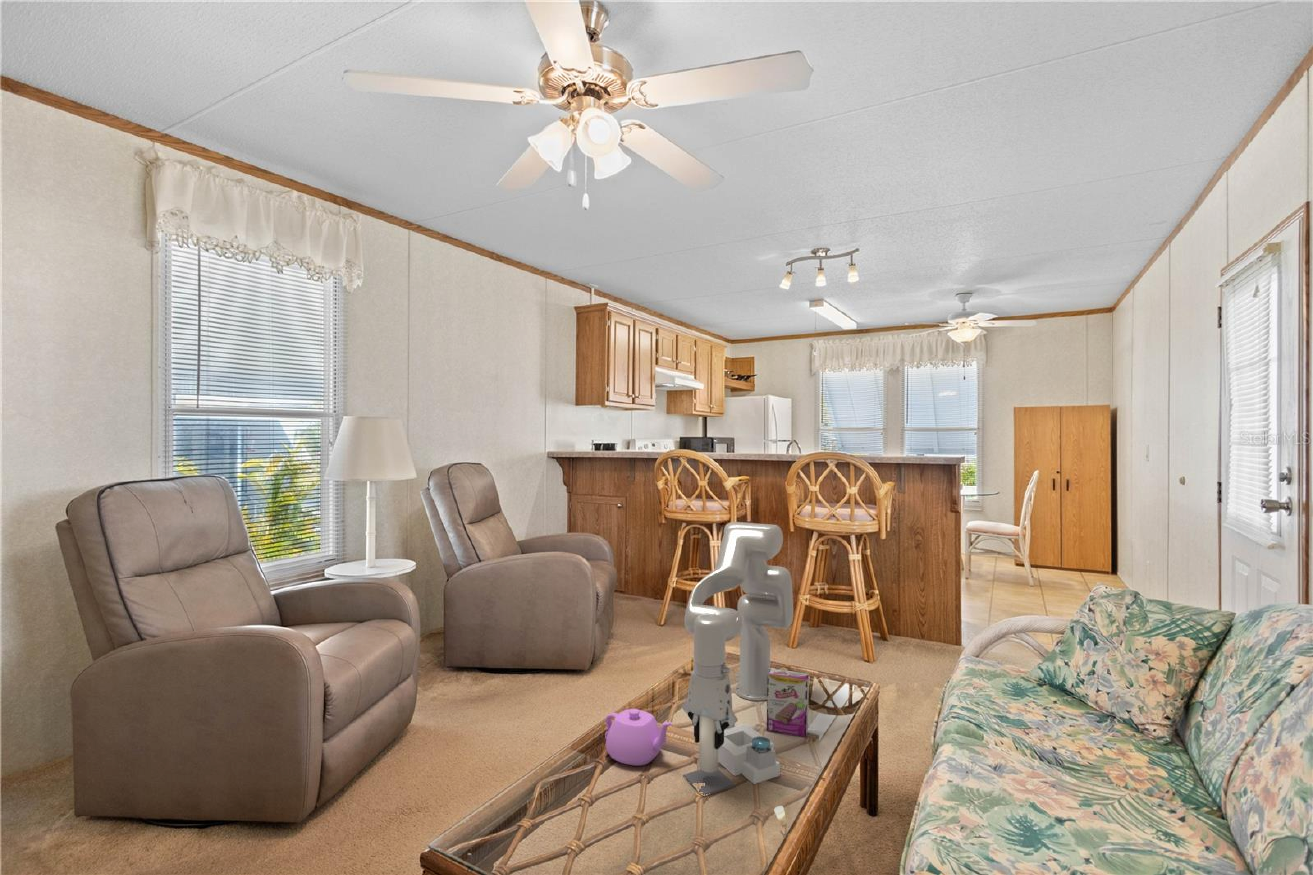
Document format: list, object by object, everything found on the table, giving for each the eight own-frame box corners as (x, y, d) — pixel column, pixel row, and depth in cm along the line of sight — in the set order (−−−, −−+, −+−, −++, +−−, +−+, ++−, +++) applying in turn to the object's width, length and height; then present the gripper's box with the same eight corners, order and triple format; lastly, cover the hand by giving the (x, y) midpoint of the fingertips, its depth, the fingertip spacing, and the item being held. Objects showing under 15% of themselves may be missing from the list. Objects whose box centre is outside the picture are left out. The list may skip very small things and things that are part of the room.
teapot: (591, 759, 157) (591, 713, 156) (618, 735, 168) (618, 693, 168) (660, 780, 147) (660, 732, 147) (683, 754, 159) (684, 709, 159)
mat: (682, 777, 149) (682, 774, 149) (713, 767, 153) (713, 765, 153) (703, 797, 141) (703, 794, 141) (734, 786, 145) (734, 783, 145)
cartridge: (704, 759, 150) (705, 699, 150) (721, 765, 147) (722, 703, 147) (695, 768, 146) (695, 706, 146) (712, 774, 143) (713, 711, 143)
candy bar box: (766, 732, 171) (766, 673, 170) (768, 723, 176) (769, 667, 175) (807, 738, 167) (807, 679, 167) (808, 730, 172) (809, 672, 172)
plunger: (748, 759, 151) (748, 739, 151) (762, 754, 153) (762, 734, 153) (759, 768, 147) (759, 747, 147) (773, 763, 149) (773, 743, 149)
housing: (697, 743, 164) (697, 719, 164) (734, 733, 170) (734, 710, 170) (747, 786, 145) (747, 759, 145) (786, 773, 151) (786, 747, 150)
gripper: (748, 670, 145) (747, 746, 145) (685, 656, 154) (685, 727, 154) (735, 681, 139) (734, 761, 139) (671, 666, 147) (670, 740, 148)
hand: (708, 742), depth 147 cm, fingers closed on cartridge, 4 cm apart
